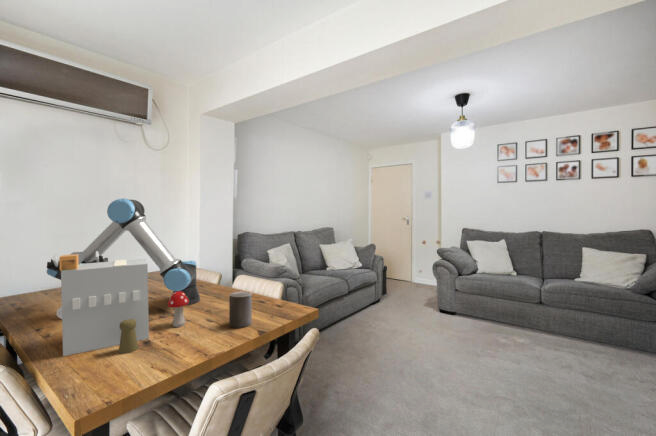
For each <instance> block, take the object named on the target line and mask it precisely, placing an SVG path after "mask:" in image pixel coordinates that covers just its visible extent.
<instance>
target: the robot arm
mask: <svg viewBox="0 0 656 436" xmlns="http://www.w3.org/2000/svg"><path fill="white" fill-rule="evenodd" d="M106 213H107V216H108V218H109V219H110V220H111V221H112V222H111V223H110V224H109V225H108V226H107V227H106V228H105V229H104V230H103V231H102V232H101V233H100V234H99V235H98V236H97V237H96V238H94V240H93V241H92V242H91V243H90V244H89V245H88V246H86V248H85V249H84V250H83V251H82V252H84V260H83V261H82V262H81V263H82V264H85V263H98V262H109V258H108V257H104V256H103V254H104V253H105V252H106V251H107V250H108V249H109V248H110V247H112V245H114V243H115V242H116V241H117V240H118V239H119V238H121V236H123V234H124V233H125V232H127V231H128V232H129V233H130V234H131V236H132V237H133V238H134V240H135V241H136V242H137V243H138V244H139V245H140V246H141V248H142V249H143V250H144V251H145V253H146V254H147V255H148V256H149V258H150V259H151V260H152V262H153V263H154V264H155V265H156V266H157V267H158V268H159V275H160V276H161V277H162V279H163V285H164V287H166V289H167V290H169V291H172V293H171V296H172V295H173V294H174V293H175V292H177V291H181V292H183V293H185V295H186V296H187V298H188V299H189V303H188V304H187V305H186V306H188V305H194V304H196V303H198V302H200V301H201V295H200V293H199V290H198V288H197V261H195V260H183V261H182V260H181V259H180V258H175V256H174V255H173V254H172V253H171V251H170V250H169V249H168V247H167V246H166V245H165V243H164V242H163V241H162V240H161V238H159V236H158V235H157V233H156V232H155V231H154V229H152V228H151V226H150V225H149V224H148V222H147V221H146V219H147V216H146V214H145V206H144V205H143V204H142V203H141V202H140V201H138V200H136V199H128V198H117V199H115V200H113V201H111V202H110V203H109V204H108V206H107V210H106ZM46 274H47V275H48V276H50V277H53V278H54V279H57V280H59V281H61V271H60V261H59V258H58V257H57V254H56V253H53V254H52V258H51V259H50V261H47V263H46Z"/></svg>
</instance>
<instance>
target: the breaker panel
mask: <svg viewBox="0 0 656 436" xmlns="http://www.w3.org/2000/svg"><path fill="white" fill-rule="evenodd" d="M148 267H149V265H148V262H147V259H146V258H141V259H140V258H139V259H117V260H114V261H108V262H98V263H85V264H82V263H80V264H79V267H78V268H77V269H73V270H62V271H61V280H60V285H61V286H60V287H61V289H60V290H61V295H60V296H61V307H62V319H61V325H62V326H61V327H62V328H61V330H62V333H61V334H62V357H65V356H67V357H68V356H71V355H77V354H80V353H86V352H91V351H95V350H100V349H101V350H102V349H105V348H111V347H115V346H120V338H121V331H122V330H121V329H120V323H121V322H122V321H124V320H127V319H134V320H136V327H135V332H136V338H137V342H139V341H144V340H149V339H150V329H149V327H150V325H149V323H150V322H149V280H148V279H149V276H148V272H149V271H148Z"/></svg>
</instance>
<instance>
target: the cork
mask: <svg viewBox="0 0 656 436" xmlns="http://www.w3.org/2000/svg"><path fill="white" fill-rule="evenodd" d="M135 327H136V320H134V319H127V320H124V321H122V322H121V323H120V329H121V330H122V331H121V338H120V345H118V346H119V347H118V353H119V354H123V355H124V354H130V353H133V352H135V351H137V350H138V349H139V345H138V341H137V338H136V332H135Z"/></svg>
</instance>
